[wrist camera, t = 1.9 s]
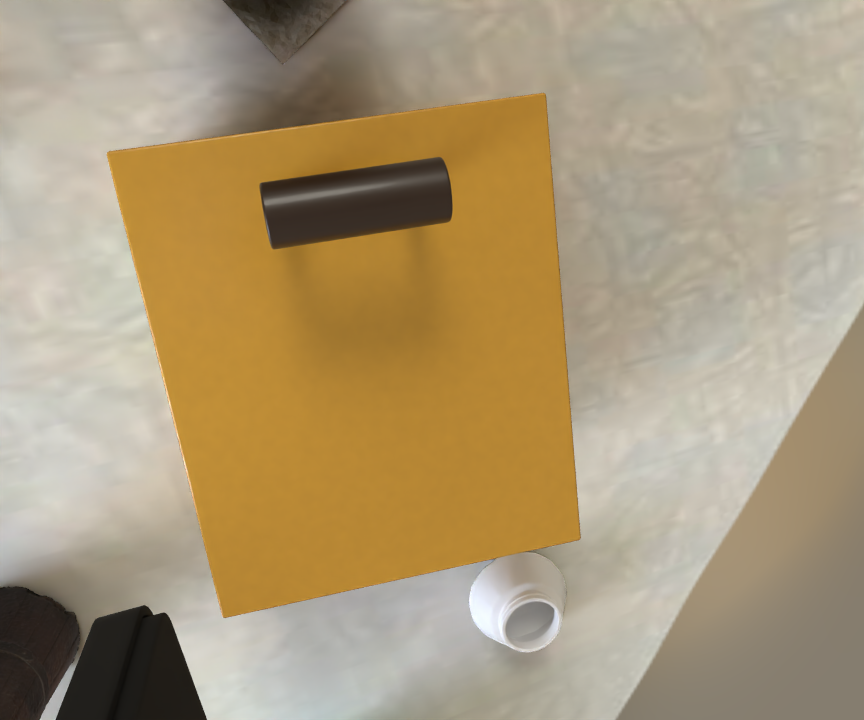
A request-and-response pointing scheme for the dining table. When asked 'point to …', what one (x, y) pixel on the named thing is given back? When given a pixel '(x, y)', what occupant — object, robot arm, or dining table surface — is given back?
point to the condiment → (284, 21)
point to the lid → (360, 343)
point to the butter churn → (32, 651)
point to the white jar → (519, 601)
